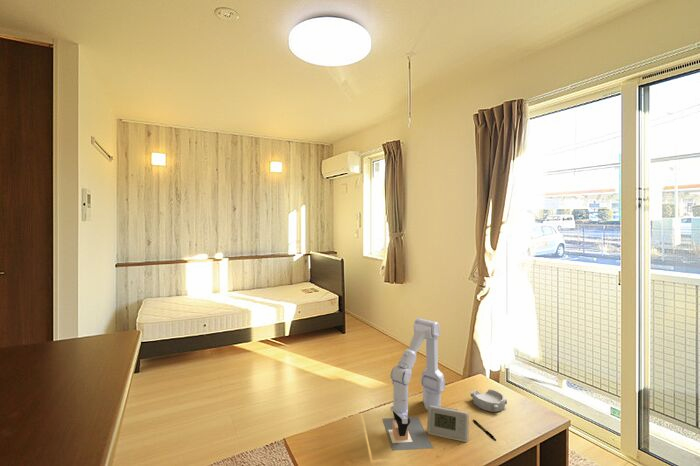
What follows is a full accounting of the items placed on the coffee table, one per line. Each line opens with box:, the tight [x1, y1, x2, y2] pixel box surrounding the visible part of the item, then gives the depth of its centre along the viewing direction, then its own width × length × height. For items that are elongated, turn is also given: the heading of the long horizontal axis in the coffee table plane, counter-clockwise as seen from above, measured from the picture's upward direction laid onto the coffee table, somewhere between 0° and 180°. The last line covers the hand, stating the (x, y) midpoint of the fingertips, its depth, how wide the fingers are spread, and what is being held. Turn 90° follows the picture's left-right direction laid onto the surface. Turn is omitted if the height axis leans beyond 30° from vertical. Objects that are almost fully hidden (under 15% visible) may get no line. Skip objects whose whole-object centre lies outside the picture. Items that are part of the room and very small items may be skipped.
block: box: [392, 420, 408, 440], centre depth 132 cm, size 5×5×5 cm
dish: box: [470, 388, 508, 413], centre depth 157 cm, size 14×14×5 cm
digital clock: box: [426, 405, 470, 443], centre depth 134 cm, size 16×9×11 cm, turn 59°
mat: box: [382, 416, 434, 451], centre depth 135 cm, size 20×16×1 cm
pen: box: [472, 419, 497, 441], centre depth 138 cm, size 14×2×1 cm, turn 16°
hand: (400, 430), depth 132 cm, fingers open, 6 cm apart
